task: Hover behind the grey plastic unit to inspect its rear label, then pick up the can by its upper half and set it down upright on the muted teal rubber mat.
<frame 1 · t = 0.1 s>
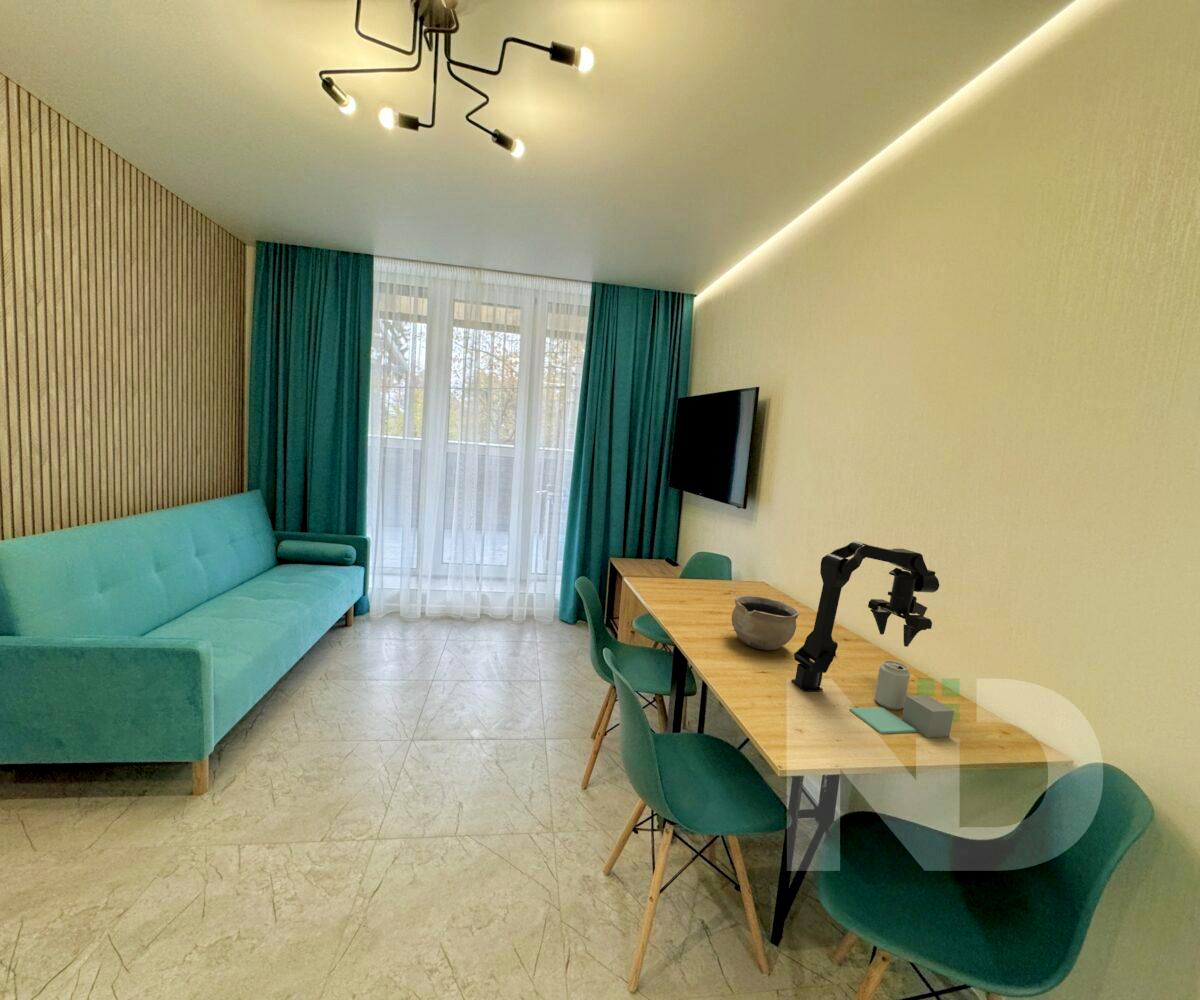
hand: (893, 640, 156), 15 cm above the table, fingers open, 9 cm apart
ceramic bowl: (759, 645, 180), on the table
unit: (924, 728, 133), on the table
can: (888, 705, 144), on the table
mat: (881, 720, 134), on the table
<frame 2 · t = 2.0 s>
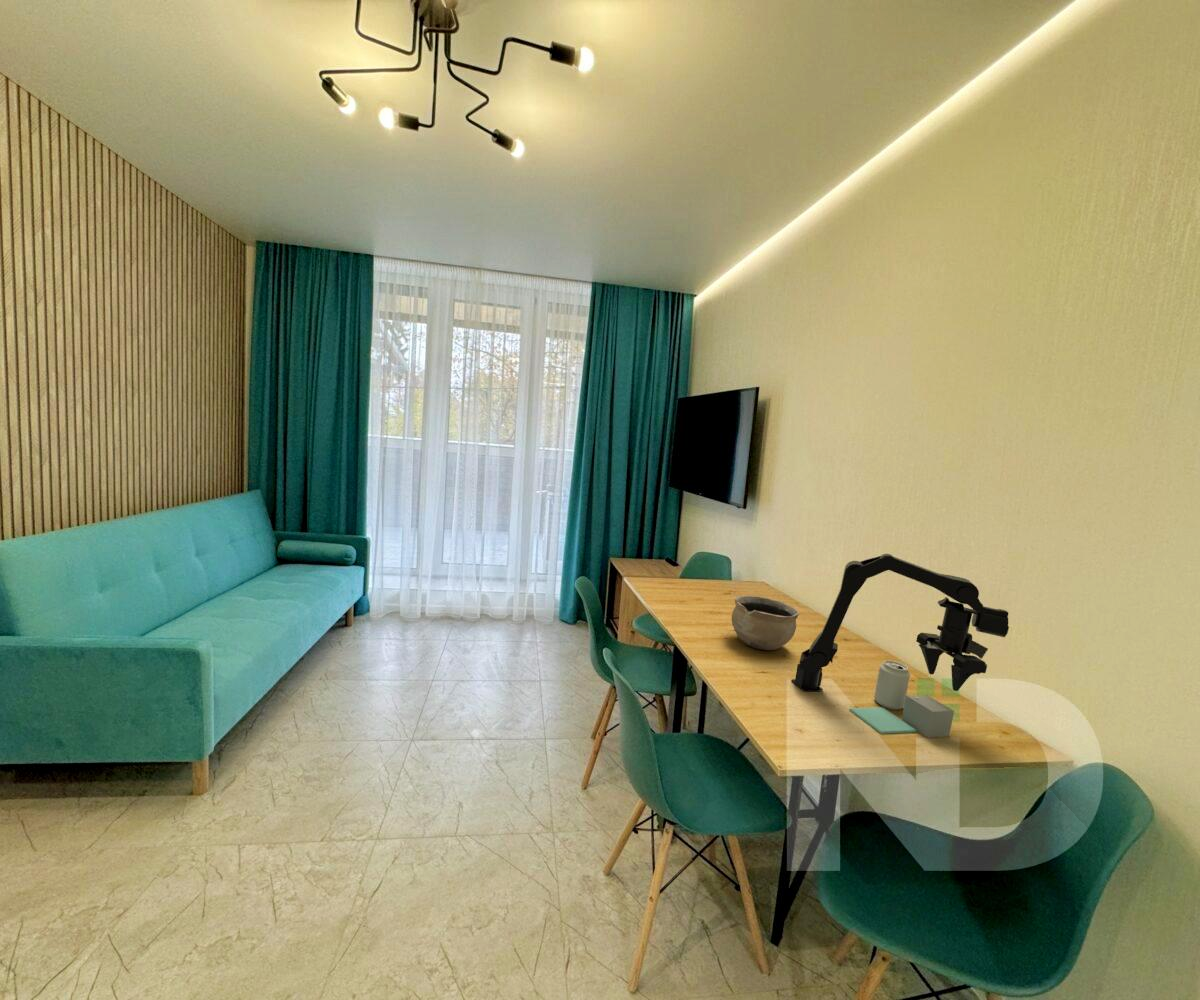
hand: (942, 682, 135), 12 cm above the table, fingers open, 9 cm apart
nothing on the table moved.
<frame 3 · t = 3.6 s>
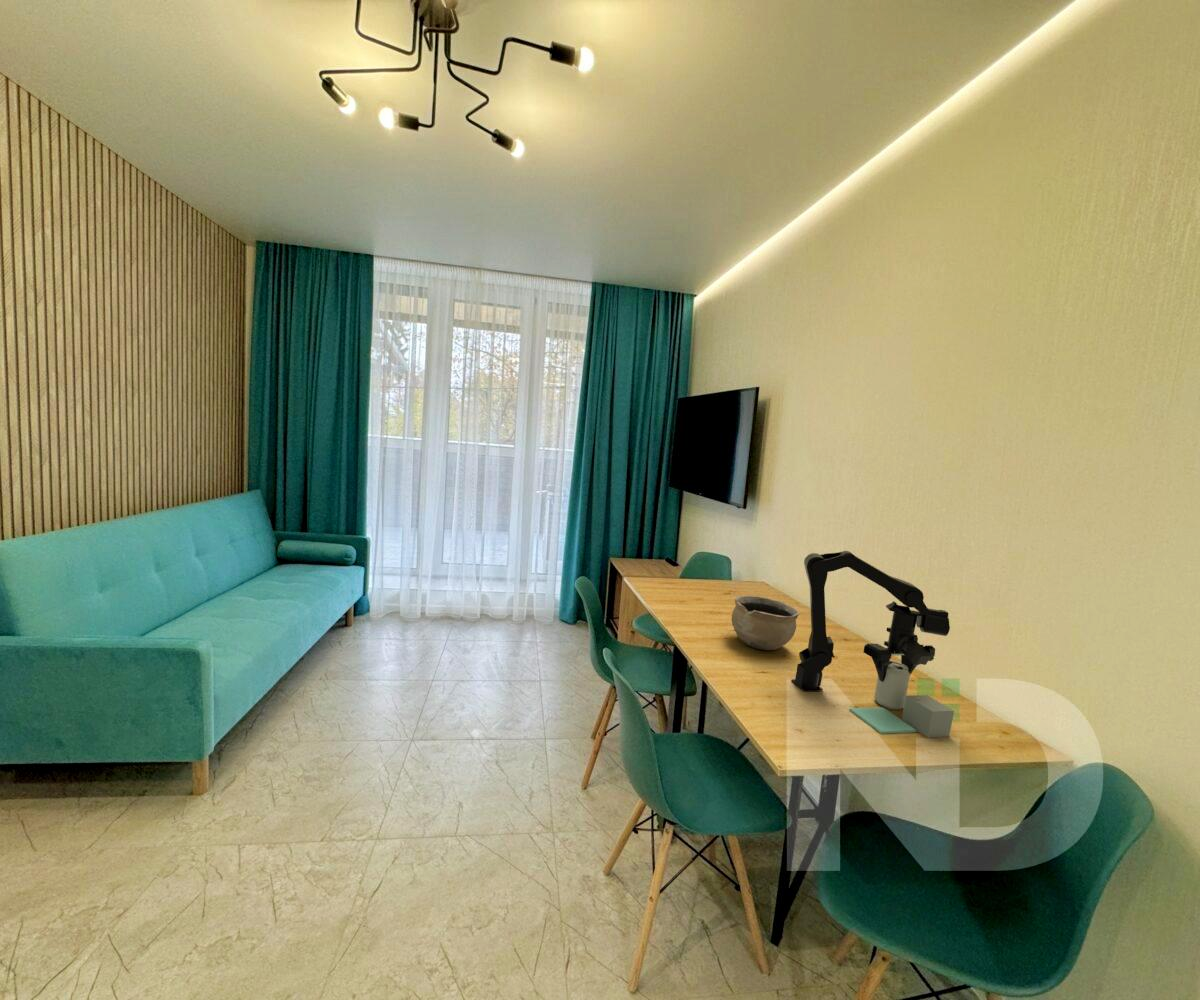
hand: (892, 680, 144), 7 cm above the table, fingers closed on can, 7 cm apart
can: (888, 705, 144), on the table, touching gripper
everything else where it was.
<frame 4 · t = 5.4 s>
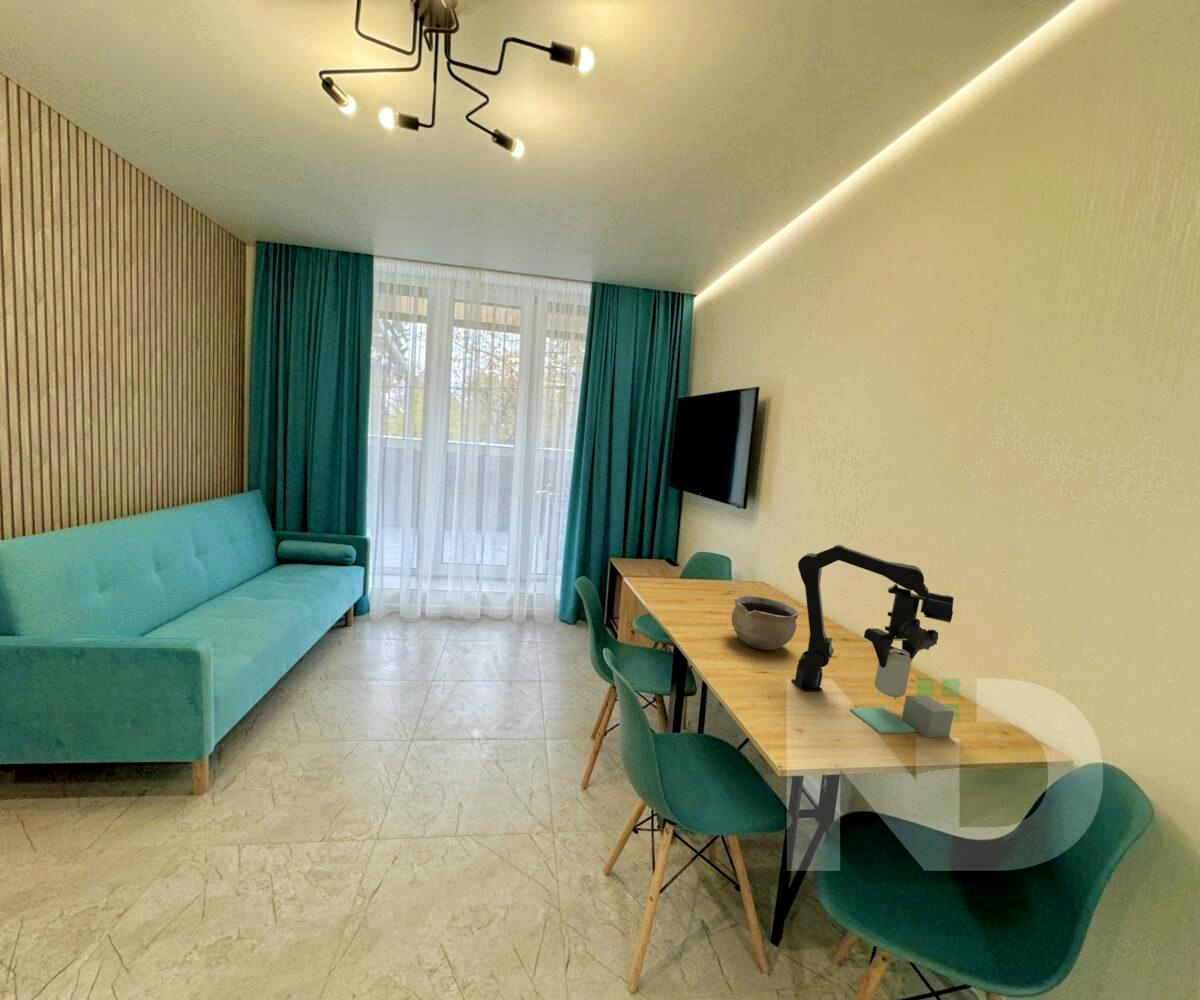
hand: (893, 667, 138), 13 cm above the table, fingers closed on can, 7 cm apart
can: (888, 692, 139), point 5 cm above the table, touching gripper
everything else where it was.
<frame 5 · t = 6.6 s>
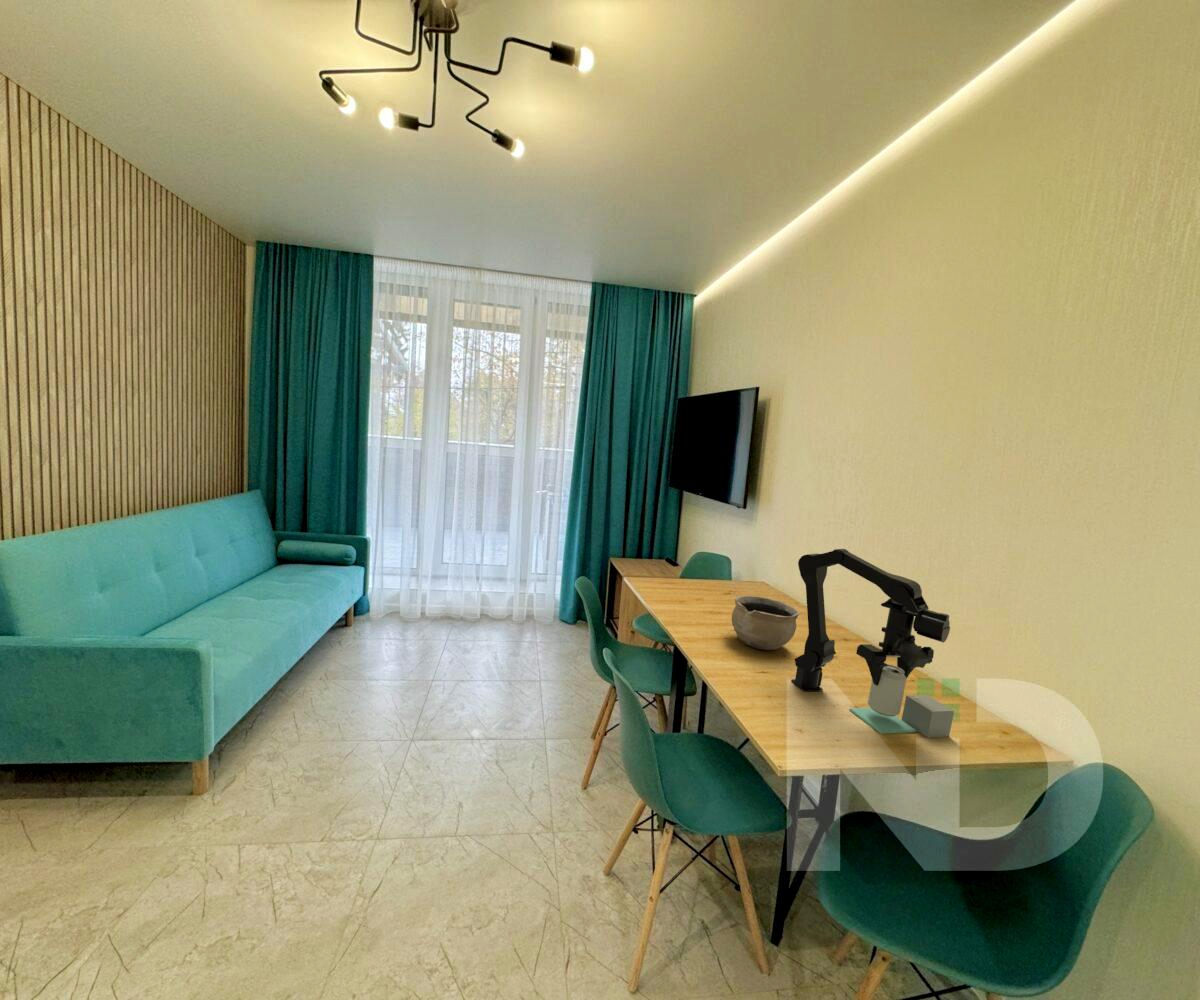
hand: (887, 684, 133), 10 cm above the table, fingers closed on can, 7 cm apart
can: (882, 711, 134), point 3 cm above the table, touching gripper
everything else where it was.
when the fingers open (8 cm above the table, at t = 7.5 s): can stays where it is, resting on mat.
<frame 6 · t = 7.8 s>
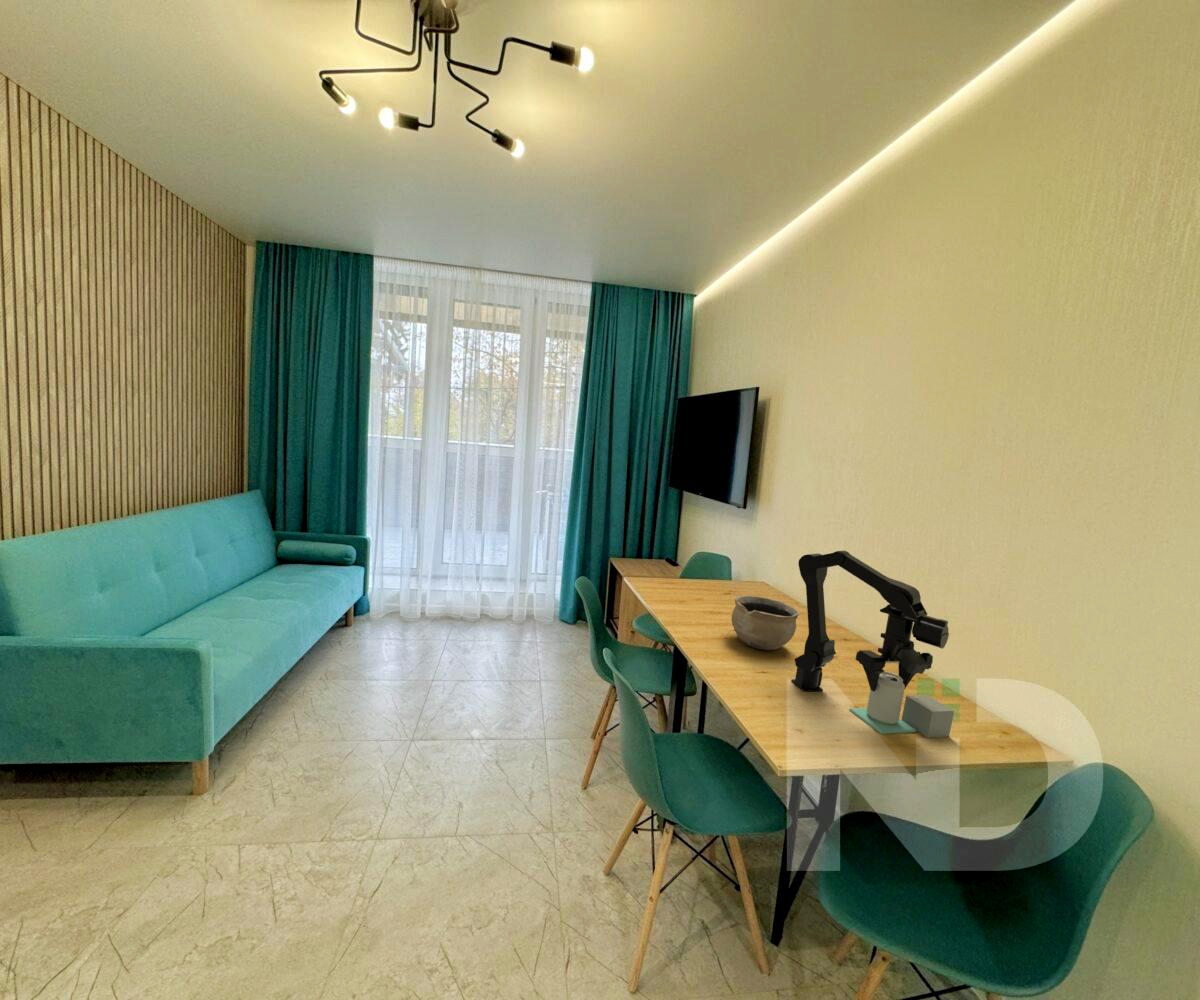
hand: (887, 690, 133), 8 cm above the table, fingers open, 9 cm apart
can: (881, 719, 134), resting on mat
everything else where it was.
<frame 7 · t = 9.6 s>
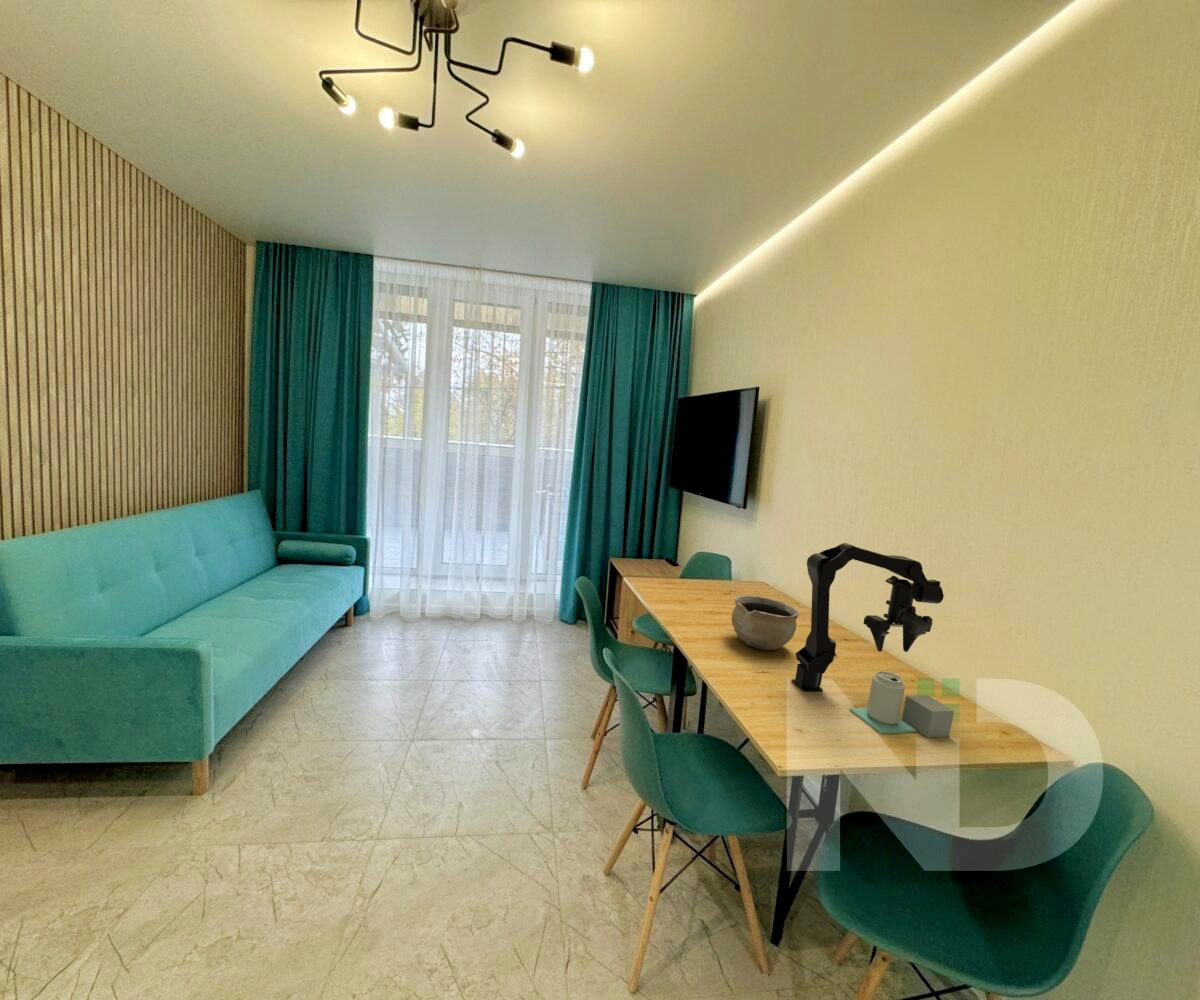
hand: (892, 651, 150), 13 cm above the table, fingers open, 9 cm apart
nothing on the table moved.
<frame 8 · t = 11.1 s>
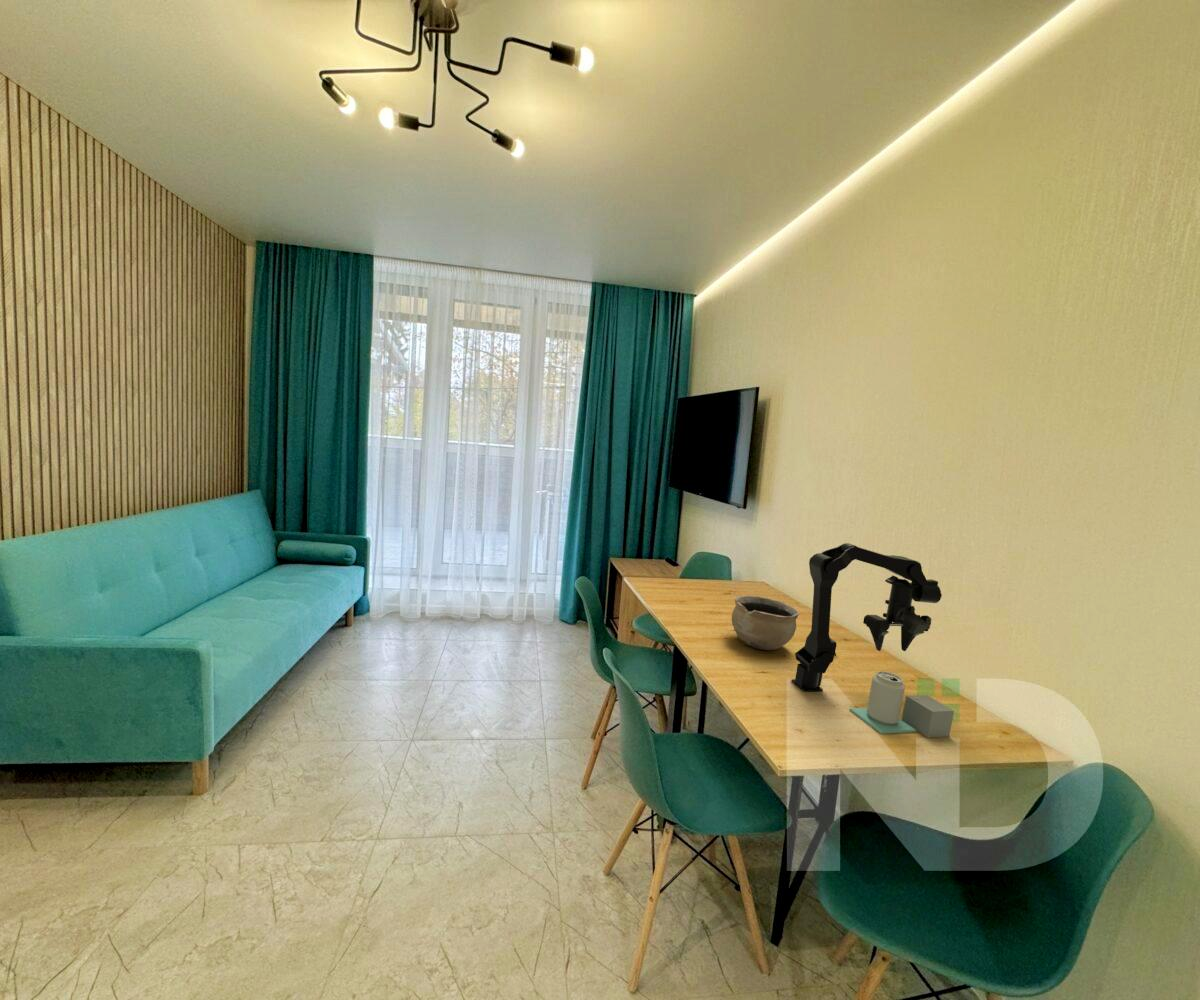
hand: (891, 650, 151), 13 cm above the table, fingers open, 9 cm apart
nothing on the table moved.
at the end: can inside the target area on the mat (0.0 cm from its centre), point 0.4 cm above the mat's base; can tilted 0°; the gripper is holding nothing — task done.
